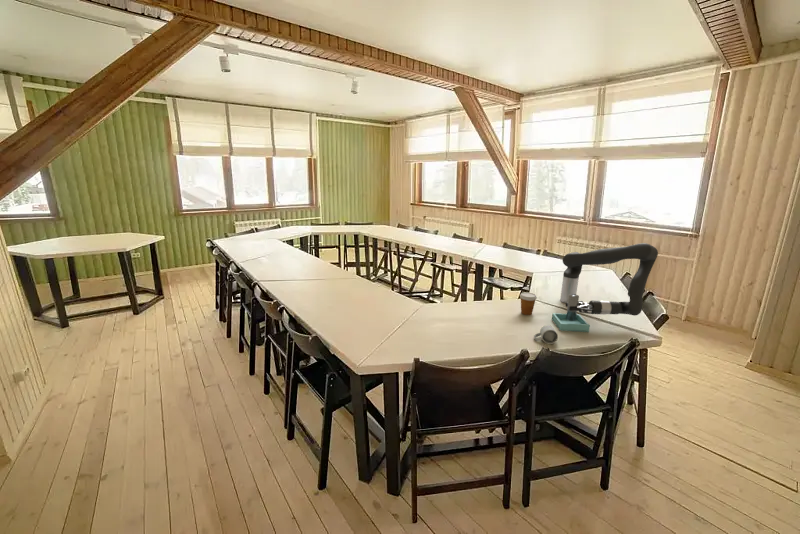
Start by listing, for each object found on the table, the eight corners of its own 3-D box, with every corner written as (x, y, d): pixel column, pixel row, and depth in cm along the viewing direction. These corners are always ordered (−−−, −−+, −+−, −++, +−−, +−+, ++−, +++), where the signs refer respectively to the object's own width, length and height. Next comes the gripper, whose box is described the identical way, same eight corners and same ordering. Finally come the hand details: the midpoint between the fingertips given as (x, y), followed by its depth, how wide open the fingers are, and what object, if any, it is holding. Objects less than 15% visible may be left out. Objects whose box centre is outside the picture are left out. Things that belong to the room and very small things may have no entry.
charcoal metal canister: (564, 317, 202) (567, 293, 199) (573, 317, 202) (576, 294, 198) (567, 320, 198) (570, 297, 194) (577, 321, 197) (580, 297, 193)
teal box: (551, 319, 209) (552, 313, 208) (578, 320, 207) (579, 314, 206) (559, 330, 195) (560, 323, 193) (588, 332, 193) (589, 325, 192)
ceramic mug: (553, 337, 187) (554, 323, 185) (557, 344, 179) (558, 330, 177) (532, 336, 189) (533, 322, 186) (535, 343, 181) (536, 329, 179)
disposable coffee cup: (524, 317, 212) (526, 298, 209) (515, 311, 221) (517, 292, 218) (538, 315, 215) (540, 296, 211) (528, 309, 223) (530, 291, 220)
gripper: (595, 296, 202) (563, 295, 204) (606, 305, 188) (572, 304, 190) (593, 309, 204) (562, 308, 206) (604, 319, 190) (571, 317, 192)
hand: (567, 306), depth 198 cm, fingers closed on charcoal metal canister, 5 cm apart
